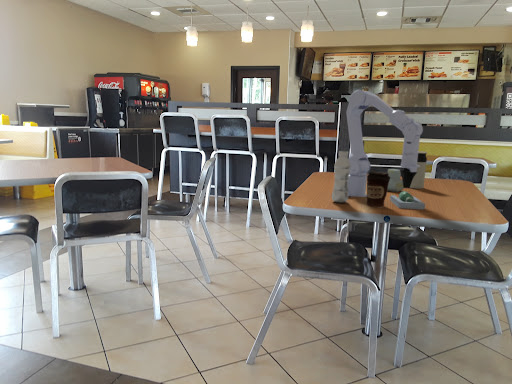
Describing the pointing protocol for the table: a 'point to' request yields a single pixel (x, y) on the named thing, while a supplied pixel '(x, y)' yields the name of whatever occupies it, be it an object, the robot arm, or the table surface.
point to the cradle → (407, 203)
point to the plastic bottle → (341, 177)
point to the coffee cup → (377, 188)
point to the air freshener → (395, 181)
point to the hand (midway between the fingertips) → (406, 187)
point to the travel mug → (420, 171)
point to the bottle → (406, 197)
